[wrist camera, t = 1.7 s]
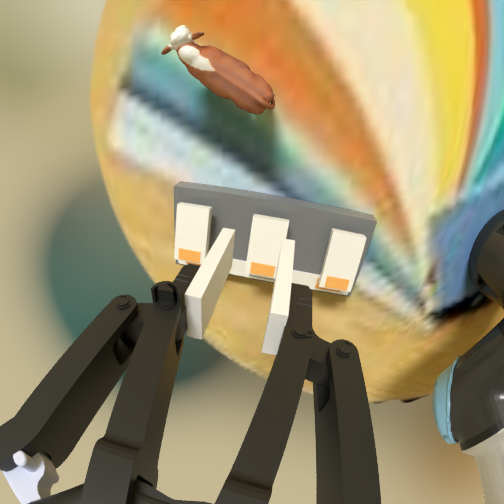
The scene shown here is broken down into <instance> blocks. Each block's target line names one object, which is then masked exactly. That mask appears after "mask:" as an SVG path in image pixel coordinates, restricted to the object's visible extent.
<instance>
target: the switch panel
mask: <svg viewBox="0 0 504 504" xmlns="http://www.w3.org/2000/svg"><path fill="white" fill-rule="evenodd" d="M180 202H184V203H190V204H197V205H204V206H210V207H212V216H211V226H210V237H209V248H208V253H209V251H210V249H211V248H212V246H213V244H214V242H215V241H216V239H217V237H218V236H219V234H220V232H221V231H222V229H223V228H228V229H234V230H235V238H234V249H233V261H232V268H231V270H230V272H229V275H234V276H239V277H244V278H249V279H255V280H260V281H265V282H270V283H274V281H275V279H273V278H268V277H262V276H257V275H252V274H247V273H245V268H246V261H247V254H248V247H249V240H250V234H251V227H252V220H253V215H254V214H259V215H265V216H271V217H276V218H282V219H287V220H289V225H288V231H287V236H286V239H289V240H295V247H294V260H293V272H292V283H296V284H301V285H307V286H309V288H310V290H314V291H320V292H326V293H332V294H338V295H344V296H350V295H351V292H352V290H353V287H354V284H355V282H356V279H357V277H358V274H359V271H360V269H361V266H362V263H363V261H364V258H365V255H366V252H367V249H368V247H369V244H370V241H371V238H372V235H373V232H374V229H375V226H376V222H377V221H376V220H375V218H374V216H373V215H370V214H366V213H361V212H357V211H352V210H348V209H343V208H338V207H334V206H329V205H324V204H319V203H314V202H309V201H304V200H298V199H293V198H288V197H282V196H276V195H271V194H265V193H259V192H252V191H246V190H240V189H233V188H226V187H219V186H212V185H205V184H197V183H189V182H179V183H178V184H176V185H175V186H174V222H175V231H176V213H177V204H178V203H180ZM332 228H334V229H339V230H343V231H348V232H353V233H358V234H362V235H365V237H366V242H365V245H364V249H363V253H362V256H361V260H360V263H359V266H358V270H357V273H356V276H355V279H354V283H353V286H352V289H351V292H346V291H340V290H334V289H328V288H323V287H319V283H318V282H319V278H320V275H321V271H322V267H323V263H324V259H325V255H326V251H327V247H328V243H329V239H330V234H331V230H332ZM176 264H180V265H185V266H186V265H187V264H194V265H199V266H201V264H196V263H192V262H187V261H182V260H177V259H176Z"/></svg>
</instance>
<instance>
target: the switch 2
mask: <svg viewBox="0 0 504 504" xmlns="http://www.w3.org/2000/svg"><path fill="white" fill-rule="evenodd" d="M365 242H366V237H365V235H362V234H358V233H353V232H348V231H343V230H339V229H334V228H332V230H331V234H330V239H329V243H328V247H327V251H326V255H325V259H324V263H323V267H322V271H321V275H320V278H319V282H318V283H319V287H323V288H328V289H334V290H340V291H346V292H351V289H352V286H353V283H354V279H355V276H356V273H357V270H358V266H359V263H360V260H361V256H362V253H363V249H364V245H365Z"/></svg>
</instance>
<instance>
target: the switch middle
mask: <svg viewBox="0 0 504 504" xmlns="http://www.w3.org/2000/svg"><path fill="white" fill-rule="evenodd" d="M288 225H289V220H287V219H282V218H276V217H271V216H265V215H259V214H254V215H253V220H252V227H251V234H250V240H249V247H248V254H247V261H246V268H245V273H247V274H252V275H257V276H262V277H268V278H273V279H275V276H276V271H277V265H278V260H279V255H280V250H281V245H282V239H283V238H284V239H286V236H287V231H288Z"/></svg>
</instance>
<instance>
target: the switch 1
mask: <svg viewBox="0 0 504 504" xmlns="http://www.w3.org/2000/svg"><path fill="white" fill-rule="evenodd" d="M211 216H212V207H210V206H204V205H197V204H190V203H184V202H180V203H178V204H177V213H176V231H175V257H174V259H177V260H182V261H187V262H192V263H196V264H201V265H202V263H203V261H204V259H205V258H206V256H207V254H208V248H209V237H210V226H211Z"/></svg>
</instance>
